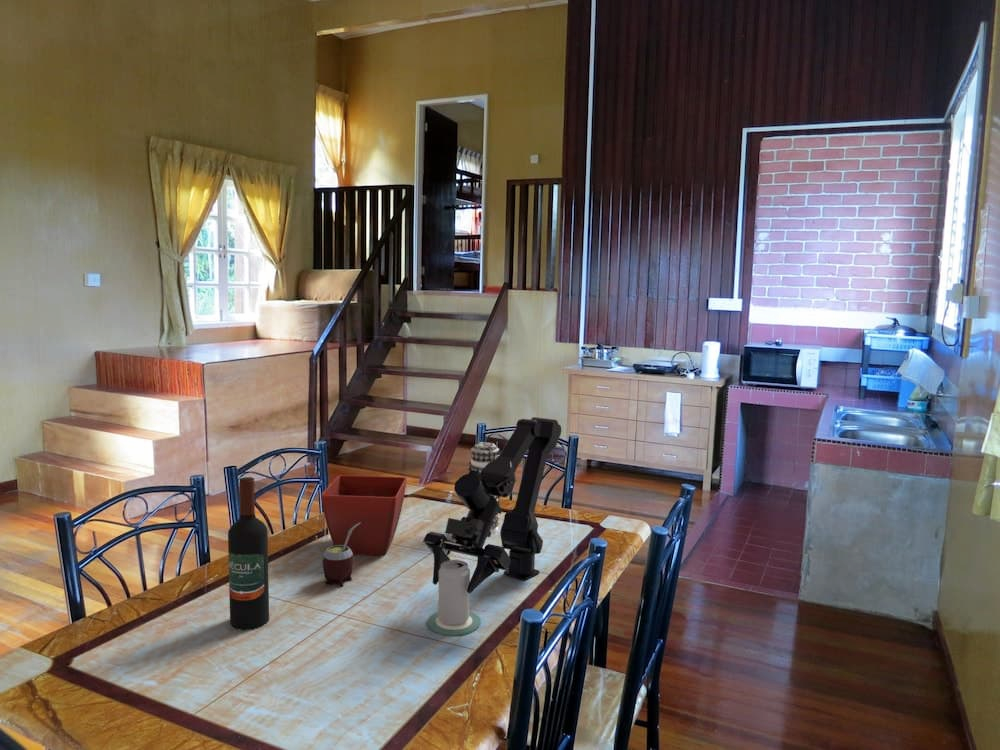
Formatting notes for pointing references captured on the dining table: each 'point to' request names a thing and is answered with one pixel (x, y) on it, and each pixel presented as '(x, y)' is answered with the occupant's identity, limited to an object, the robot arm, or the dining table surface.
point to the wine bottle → (248, 564)
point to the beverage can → (453, 592)
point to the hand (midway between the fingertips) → (450, 588)
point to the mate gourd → (338, 562)
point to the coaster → (456, 630)
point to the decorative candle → (480, 459)
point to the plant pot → (364, 511)
